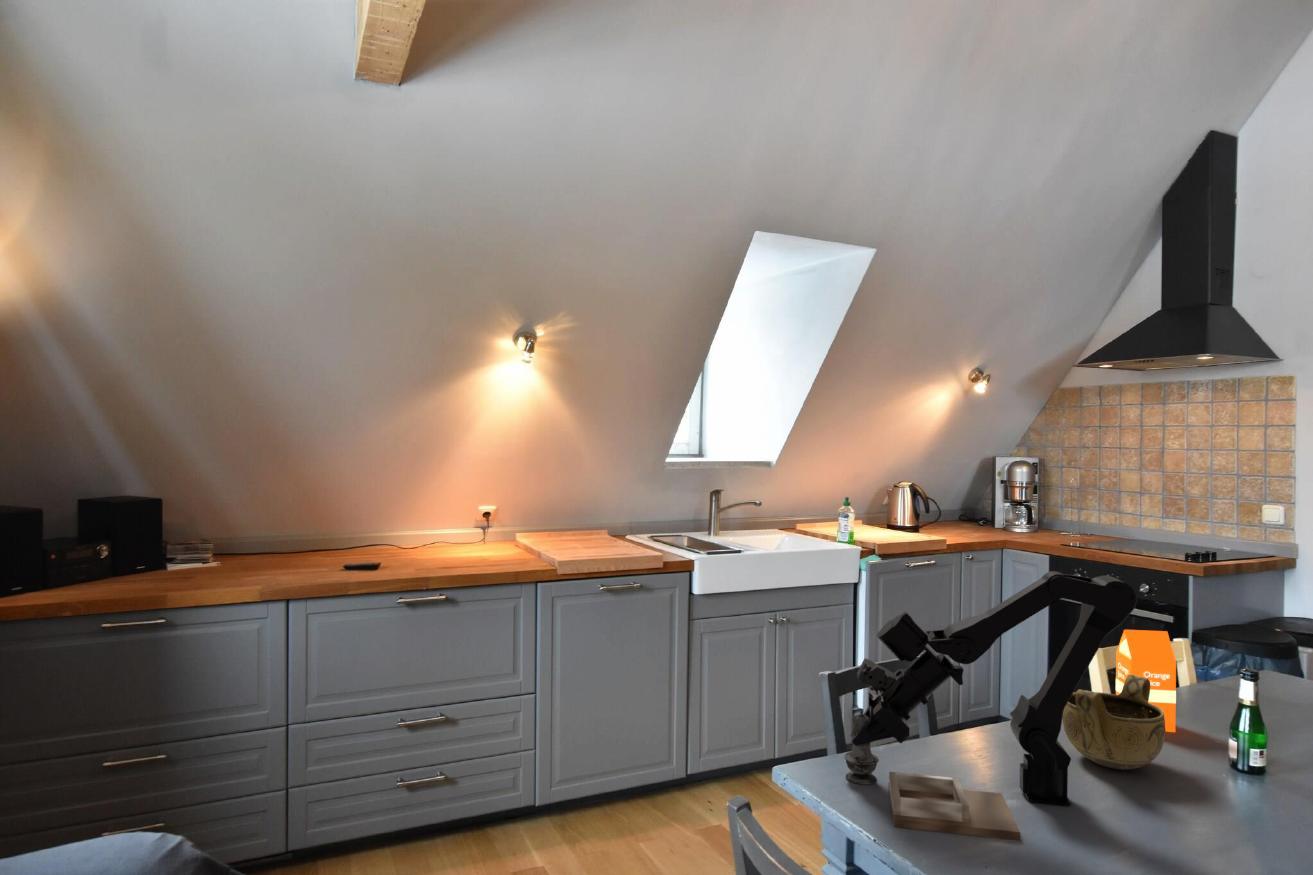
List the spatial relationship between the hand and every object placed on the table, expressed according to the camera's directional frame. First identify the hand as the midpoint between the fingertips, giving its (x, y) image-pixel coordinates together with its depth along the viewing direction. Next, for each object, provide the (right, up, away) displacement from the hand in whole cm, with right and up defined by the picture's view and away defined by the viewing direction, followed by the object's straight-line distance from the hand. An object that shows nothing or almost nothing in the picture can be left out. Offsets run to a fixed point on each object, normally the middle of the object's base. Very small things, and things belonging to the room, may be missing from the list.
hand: (853, 739), depth 144 cm
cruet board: (+12, -7, -13) cm, 19 cm away
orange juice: (+69, -8, +30) cm, 76 cm away
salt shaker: (+1, -7, 0) cm, 7 cm away
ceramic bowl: (+50, -8, +9) cm, 51 cm away
